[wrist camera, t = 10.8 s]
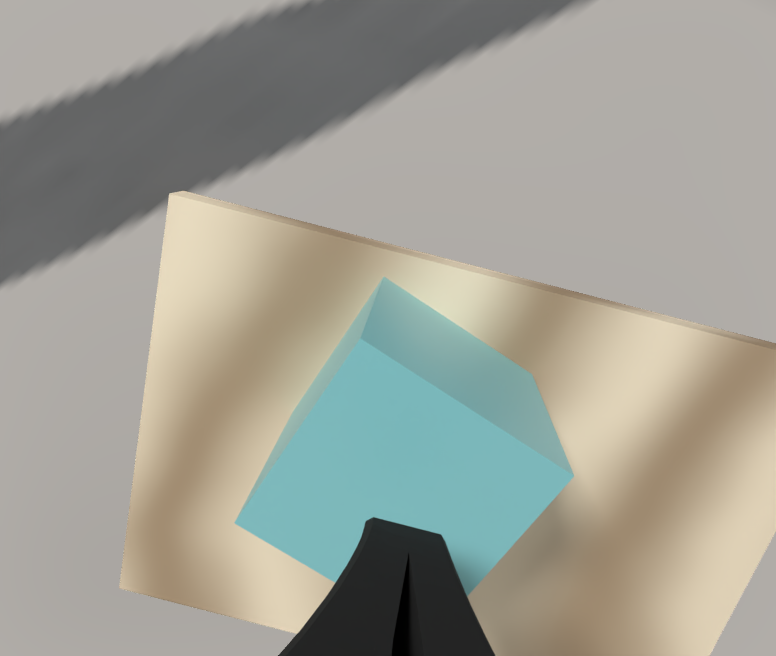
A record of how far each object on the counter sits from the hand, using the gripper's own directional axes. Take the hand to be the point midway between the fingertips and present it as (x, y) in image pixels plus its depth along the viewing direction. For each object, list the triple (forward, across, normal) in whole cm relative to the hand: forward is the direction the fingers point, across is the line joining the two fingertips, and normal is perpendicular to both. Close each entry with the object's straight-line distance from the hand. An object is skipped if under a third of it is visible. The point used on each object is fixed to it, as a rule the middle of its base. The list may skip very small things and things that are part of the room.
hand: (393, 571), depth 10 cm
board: (+9, -2, +3) cm, 10 cm away
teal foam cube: (+8, 0, 0) cm, 8 cm away
